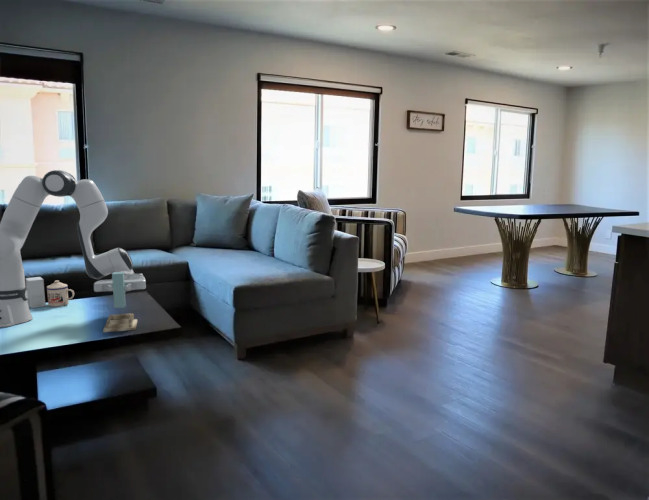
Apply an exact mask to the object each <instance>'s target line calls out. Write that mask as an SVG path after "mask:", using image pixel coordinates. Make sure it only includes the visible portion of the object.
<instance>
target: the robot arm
mask: <svg viewBox="0 0 649 500" xmlns="http://www.w3.org/2000/svg"><path fill="white" fill-rule="evenodd" d="M48 196H53V197H57V198H62V197H63V198H64V197H70V198H72V200H74V202H75V204H76V207H77V209H78V211H79V215H80V216H79V217H80V218H79V221H78V222H77V223H76V230H77V235H78V240H79V243H80V247H81V250H82V251H81V253H82V256H83V260H84V268H85V272H86V274H87V275H88V277H89V278H91V279H94V280H96V281H95V282H94V283H93V291H94V292H96V293H100V292H113V281H112V278H111V279H102V278H105V277H107V276H108V275H112V273H113V272H124V284H125V286H124V291H125V293H127V292H130V291H134V290H145V289H146V288H147V284H146V283H147V281H146V278H145V276H144V275H143V273H138V272H136V273H135V272H134V269H133V266H134V263H133V260H132V257H131V256H130V254H129V253H128V251H127V250H126V249H123V248H122V247H115V248H113V249H110V250H108V251H106V252H103V253H101V254H98V255H95V253H94V249H93V246H92V240H91V235H92V233H93V232H94V231H95V230H96V229H97V228H98V227H99V226H100V225H102V224H103V223H104V222H105V221H106V219H107V217H108V215H109V210H108V206H107V204H106V201H105V199H104V196H103V195H102V192H101V191H100V189H99V188H98V186H97V185H96V183H95V181H93V180H92V179H88V178H85V179H84V178H83V179H80V180H76V177H74V175H72V174H71V173H69V172H67V171H65V170H60V169H58V170H54V169H53V170H50V171H48V172H46V173H45V174H44V176H43V177H39V176H37V175H27V176H25V177H23V179H22V180H21V182H19V184H18V186H17V187H16V189H15V190H14V192H13V194H12V196H11V197H10V198H11V199H10V200H9V202H8V204H7V206H6V209H5V211H4V212H3V215H2V217H1V220H0V328H8V327H11V326H14V325H18V324H24V323H27V322H29V321H31V320H33V315H32V313H31V310H30V306H29V305H28V301H27V299H28V292H27V287H26V276H25V268H24V265H23V260H22V255H21V249H22V248H23V246H24V245H25V242H26V239H27V238H28V235H29V233H30V230H31V228H32V226H33V223H34V221H35V220H36V217H37V216H38V213H39V211H40V209H41V206H42V205H43V203H44V201H45V200H46V198H47V197H48Z"/></svg>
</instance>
